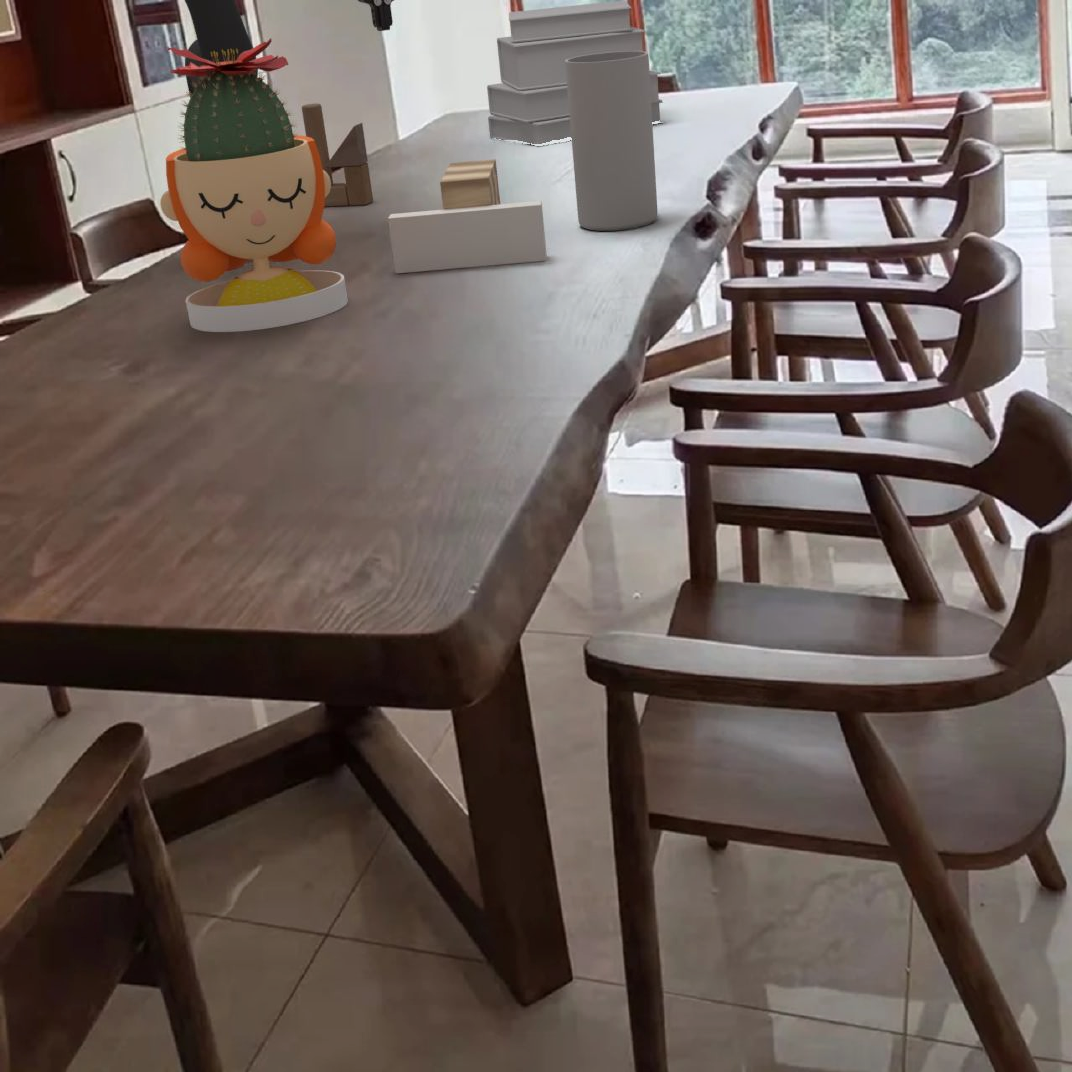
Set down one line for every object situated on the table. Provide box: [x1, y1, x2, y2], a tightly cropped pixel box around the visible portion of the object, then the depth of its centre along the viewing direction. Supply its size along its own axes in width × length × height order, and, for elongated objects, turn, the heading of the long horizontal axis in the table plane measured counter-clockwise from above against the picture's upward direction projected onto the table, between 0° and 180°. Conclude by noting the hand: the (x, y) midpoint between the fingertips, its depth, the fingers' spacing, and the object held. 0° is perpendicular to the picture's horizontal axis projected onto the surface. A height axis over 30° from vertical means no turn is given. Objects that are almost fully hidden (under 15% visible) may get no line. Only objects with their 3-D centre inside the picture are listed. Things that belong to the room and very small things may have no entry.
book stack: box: [486, 0, 664, 144], centre depth 306 cm, size 30×35×26 cm
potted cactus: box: [159, 38, 349, 333], centre depth 184 cm, size 22×22×35 cm
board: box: [387, 200, 548, 274], centre depth 202 cm, size 3×22×8 cm, turn 87°
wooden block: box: [301, 102, 374, 208], centre depth 253 cm, size 4×11×18 cm, turn 73°
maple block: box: [439, 158, 501, 210], centre depth 209 cm, size 16×7×12 cm, turn 177°
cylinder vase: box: [565, 50, 659, 232], centre depth 214 cm, size 12×12×25 cm
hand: (383, 30), depth 220 cm, fingers closed
